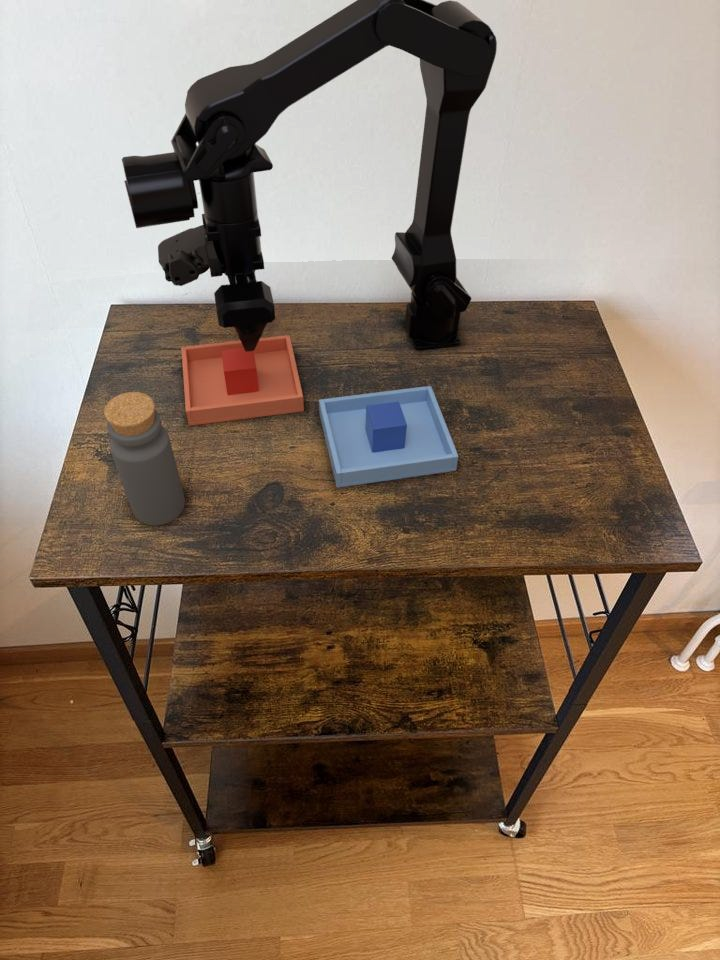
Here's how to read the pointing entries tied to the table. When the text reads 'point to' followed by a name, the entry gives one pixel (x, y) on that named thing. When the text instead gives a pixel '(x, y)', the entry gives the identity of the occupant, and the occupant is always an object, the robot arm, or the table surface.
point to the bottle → (144, 459)
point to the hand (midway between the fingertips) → (245, 326)
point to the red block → (240, 371)
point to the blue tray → (421, 455)
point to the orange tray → (214, 404)
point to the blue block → (385, 426)
